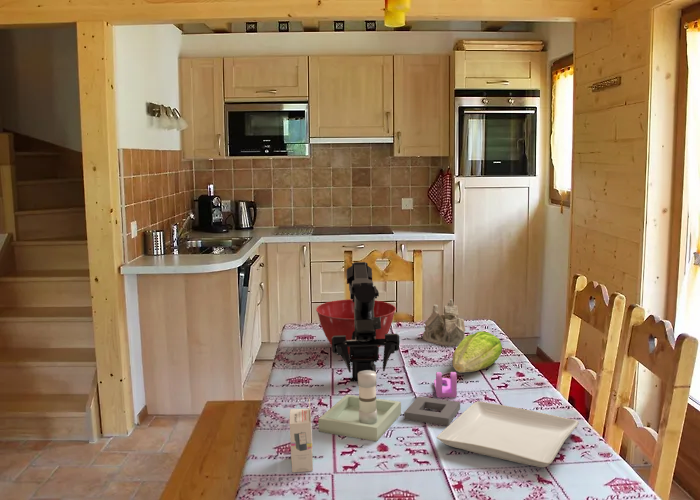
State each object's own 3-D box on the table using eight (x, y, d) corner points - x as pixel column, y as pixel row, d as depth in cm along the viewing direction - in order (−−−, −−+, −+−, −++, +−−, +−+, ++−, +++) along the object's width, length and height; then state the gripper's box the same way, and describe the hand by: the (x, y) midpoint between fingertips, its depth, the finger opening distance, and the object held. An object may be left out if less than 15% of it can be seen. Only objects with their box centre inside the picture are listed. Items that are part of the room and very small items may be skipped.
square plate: (550, 479, 144) (550, 462, 144) (434, 451, 159) (434, 436, 158) (579, 432, 167) (580, 418, 167) (476, 412, 181) (476, 398, 181)
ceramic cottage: (422, 333, 257) (423, 296, 253) (465, 335, 255) (467, 298, 252) (422, 348, 242) (423, 308, 238) (467, 350, 240) (469, 310, 237)
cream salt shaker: (355, 420, 175) (354, 372, 173) (370, 415, 178) (368, 368, 176) (366, 426, 171) (364, 377, 169) (380, 421, 174) (379, 373, 172)
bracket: (456, 397, 191) (456, 374, 190) (437, 397, 192) (437, 374, 191) (451, 382, 204) (451, 360, 203) (433, 382, 205) (433, 360, 203)
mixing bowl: (410, 344, 243) (409, 303, 241) (370, 367, 220) (369, 321, 217) (345, 334, 258) (344, 295, 256) (301, 354, 235) (300, 311, 232)
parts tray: (318, 431, 170) (318, 418, 170) (347, 406, 187) (346, 394, 186) (377, 441, 164) (376, 427, 163) (401, 414, 180) (400, 401, 180)
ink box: (291, 455, 157) (288, 396, 155) (312, 454, 158) (310, 395, 155) (291, 473, 149) (288, 410, 147) (313, 472, 149) (311, 409, 147)
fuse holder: (404, 419, 177) (404, 412, 176) (418, 403, 188) (418, 396, 187) (448, 425, 172) (448, 418, 172) (460, 409, 183) (460, 402, 183)
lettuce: (433, 359, 210) (463, 341, 203) (465, 335, 230) (493, 319, 223) (455, 392, 208) (485, 375, 201) (485, 365, 228) (514, 349, 221)
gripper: (330, 307, 183) (331, 359, 174) (398, 305, 183) (402, 356, 174) (332, 327, 192) (333, 377, 183) (396, 325, 192) (400, 374, 183)
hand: (366, 371), depth 181 cm, fingers open, 9 cm apart
